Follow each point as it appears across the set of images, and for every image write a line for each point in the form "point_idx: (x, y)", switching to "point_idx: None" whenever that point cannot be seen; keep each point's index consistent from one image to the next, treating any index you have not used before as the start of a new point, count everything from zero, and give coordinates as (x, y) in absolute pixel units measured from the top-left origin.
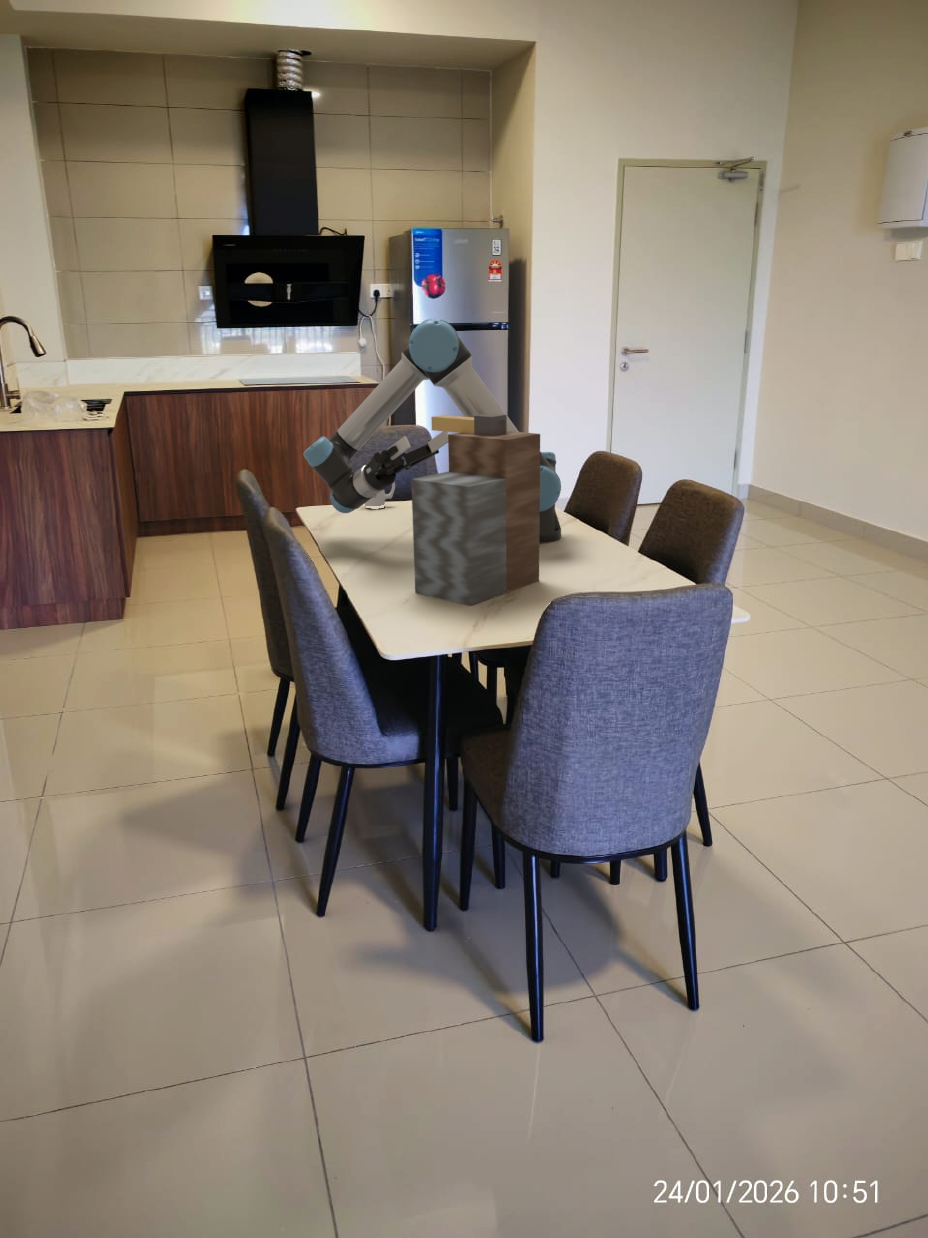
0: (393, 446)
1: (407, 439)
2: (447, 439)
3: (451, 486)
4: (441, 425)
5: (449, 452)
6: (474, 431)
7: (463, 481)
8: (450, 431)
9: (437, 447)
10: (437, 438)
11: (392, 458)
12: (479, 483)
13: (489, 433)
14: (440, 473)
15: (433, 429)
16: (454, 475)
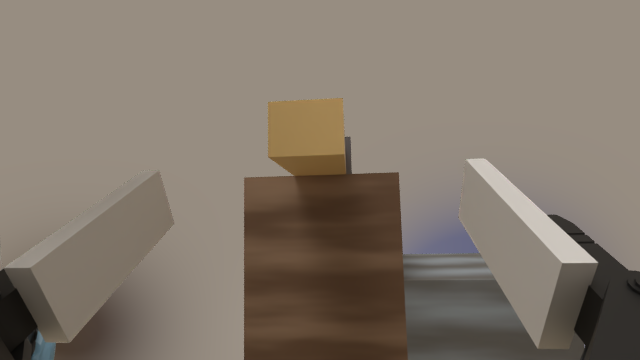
0: (554, 217)
1: (465, 178)
2: (168, 219)
3: None
4: (344, 143)
5: (400, 223)
6: (351, 173)
7: (463, 259)
8: (345, 168)
9: (116, 281)
10: (119, 220)
11: (560, 331)
12: (450, 254)
13: None
14: (446, 279)
15: (344, 152)
16: (435, 269)
